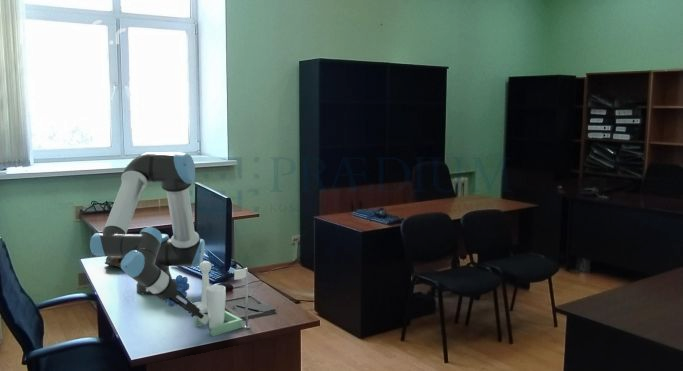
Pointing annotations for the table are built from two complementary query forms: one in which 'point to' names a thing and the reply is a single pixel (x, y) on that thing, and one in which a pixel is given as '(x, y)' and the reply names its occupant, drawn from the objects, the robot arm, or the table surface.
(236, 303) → the picture frame
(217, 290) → the drinking glass
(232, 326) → the green u-shaped piece
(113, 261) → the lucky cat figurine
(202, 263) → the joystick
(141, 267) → the robot arm
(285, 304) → the table surface
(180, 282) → the grapes
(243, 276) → the flag post
